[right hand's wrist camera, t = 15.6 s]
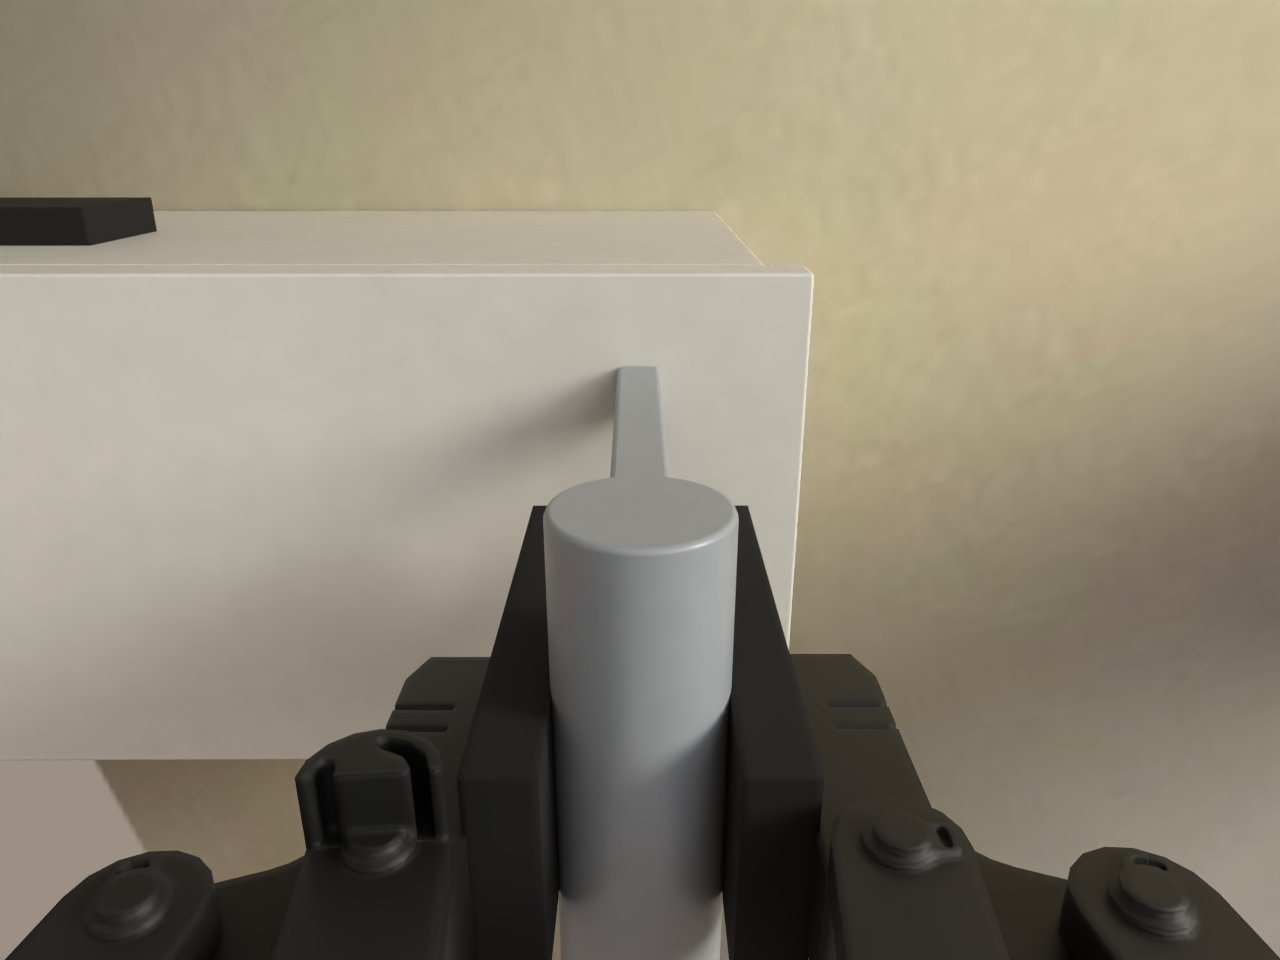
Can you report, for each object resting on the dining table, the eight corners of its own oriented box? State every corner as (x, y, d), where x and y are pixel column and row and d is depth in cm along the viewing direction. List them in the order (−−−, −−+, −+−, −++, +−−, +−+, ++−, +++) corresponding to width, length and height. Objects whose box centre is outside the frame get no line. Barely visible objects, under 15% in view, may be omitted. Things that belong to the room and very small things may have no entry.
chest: (715, 210, 26) (765, 264, 16) (705, 520, 29) (742, 725, 19) (139, 210, 26) (-180, 263, 16) (197, 520, 29) (-33, 726, 19)
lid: (803, 264, 16) (977, 403, 8) (774, 726, 19) (873, 1150, 11) (-182, 264, 16) (-1024, 406, 8) (-35, 729, 19) (-512, 1159, 11)
